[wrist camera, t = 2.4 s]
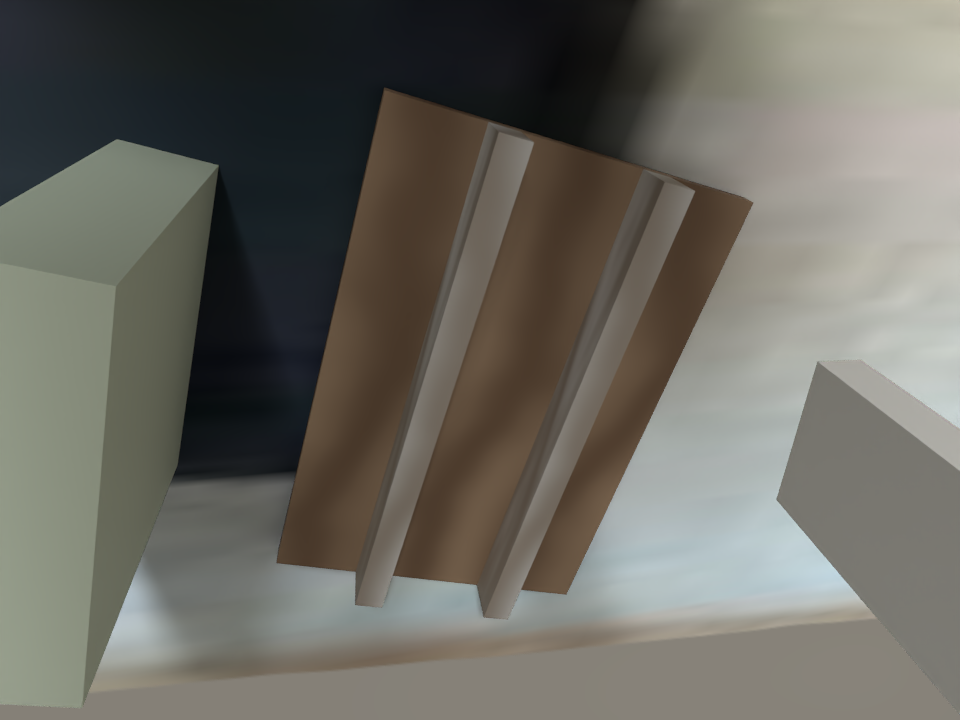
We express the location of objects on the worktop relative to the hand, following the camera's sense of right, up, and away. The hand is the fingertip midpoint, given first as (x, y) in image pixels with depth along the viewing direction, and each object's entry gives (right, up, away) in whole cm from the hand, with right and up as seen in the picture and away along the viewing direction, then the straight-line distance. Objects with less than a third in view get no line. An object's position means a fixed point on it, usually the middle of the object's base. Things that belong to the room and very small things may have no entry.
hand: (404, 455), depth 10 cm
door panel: (-14, +3, +22) cm, 26 cm away
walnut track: (+2, 0, +26) cm, 26 cm away
